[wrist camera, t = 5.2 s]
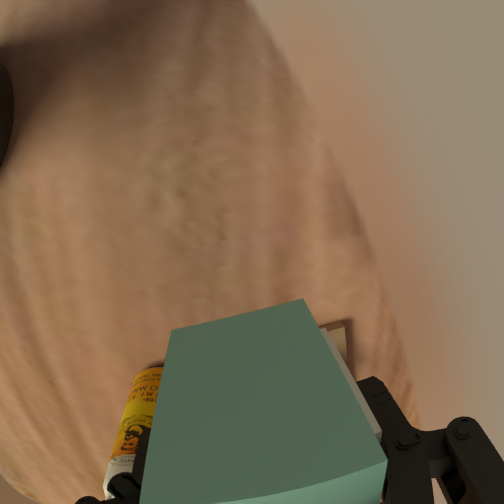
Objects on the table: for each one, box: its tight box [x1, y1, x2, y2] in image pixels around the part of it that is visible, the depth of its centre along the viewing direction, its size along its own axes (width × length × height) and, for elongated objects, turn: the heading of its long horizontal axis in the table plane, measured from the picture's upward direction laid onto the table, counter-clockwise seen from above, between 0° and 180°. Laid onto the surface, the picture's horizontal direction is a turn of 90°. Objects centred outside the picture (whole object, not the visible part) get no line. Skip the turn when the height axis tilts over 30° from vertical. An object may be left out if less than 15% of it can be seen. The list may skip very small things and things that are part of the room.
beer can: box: [103, 367, 163, 500], centre depth 23 cm, size 6×6×15 cm
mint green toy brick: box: [139, 299, 388, 504], centre depth 11 cm, size 6×6×9 cm
